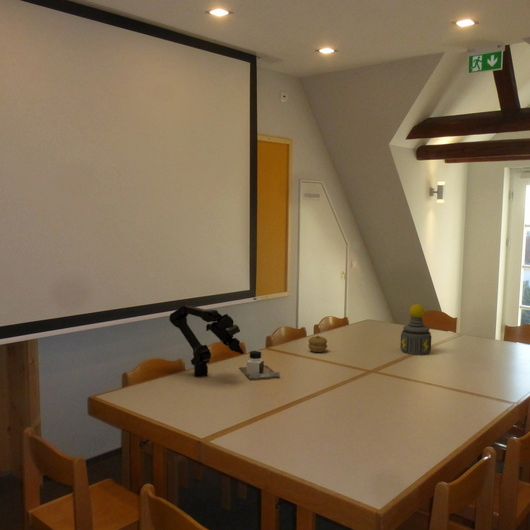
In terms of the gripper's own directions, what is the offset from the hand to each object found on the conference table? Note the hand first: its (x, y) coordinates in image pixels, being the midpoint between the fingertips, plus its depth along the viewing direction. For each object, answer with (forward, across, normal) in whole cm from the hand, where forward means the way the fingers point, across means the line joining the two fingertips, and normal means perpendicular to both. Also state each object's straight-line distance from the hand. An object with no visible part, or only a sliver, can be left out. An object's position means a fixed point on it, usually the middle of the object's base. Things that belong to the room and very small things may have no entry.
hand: (240, 351), depth 298 cm
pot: (+54, +36, -34) cm, 73 cm away
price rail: (+16, -8, +1) cm, 18 cm away
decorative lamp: (+95, +17, -75) cm, 122 cm away
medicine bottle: (+15, 0, +3) cm, 15 cm away
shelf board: (+18, +2, +2) cm, 18 cm away
